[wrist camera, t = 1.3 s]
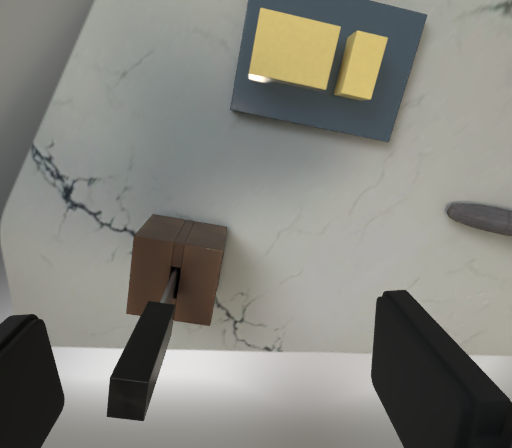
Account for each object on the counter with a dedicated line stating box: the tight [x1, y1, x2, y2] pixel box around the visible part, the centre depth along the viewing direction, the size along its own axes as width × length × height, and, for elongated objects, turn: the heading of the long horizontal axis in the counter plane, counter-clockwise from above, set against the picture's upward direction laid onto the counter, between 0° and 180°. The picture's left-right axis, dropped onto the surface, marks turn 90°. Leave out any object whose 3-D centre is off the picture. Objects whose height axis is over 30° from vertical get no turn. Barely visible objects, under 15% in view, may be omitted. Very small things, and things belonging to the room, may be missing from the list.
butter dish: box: [230, 0, 427, 142], centre depth 27 cm, size 14×10×3 cm
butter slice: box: [334, 31, 388, 101], centre depth 27 cm, size 2×4×2 cm, turn 169°
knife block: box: [126, 214, 227, 326], centre depth 31 cm, size 7×7×6 cm
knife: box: [107, 267, 181, 421], centre depth 25 cm, size 2×2×18 cm
